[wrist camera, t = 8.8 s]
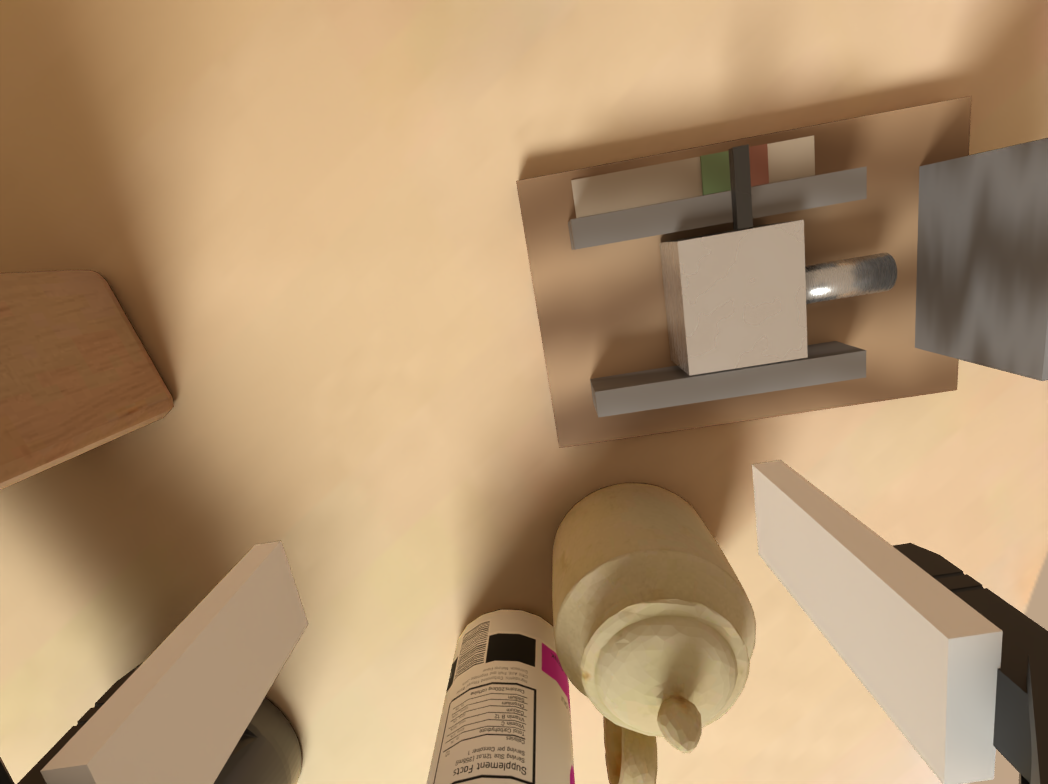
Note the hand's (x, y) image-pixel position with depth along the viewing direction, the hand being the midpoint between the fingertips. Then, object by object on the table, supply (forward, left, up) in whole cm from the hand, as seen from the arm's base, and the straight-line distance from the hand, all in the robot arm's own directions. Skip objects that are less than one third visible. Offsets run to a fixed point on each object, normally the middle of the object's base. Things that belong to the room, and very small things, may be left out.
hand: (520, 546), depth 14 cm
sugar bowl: (-15, -5, -20) cm, 26 cm away
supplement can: (-20, +5, -20) cm, 29 cm away
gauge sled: (+5, -14, -18) cm, 23 cm away
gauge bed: (+4, -13, -20) cm, 24 cm away
